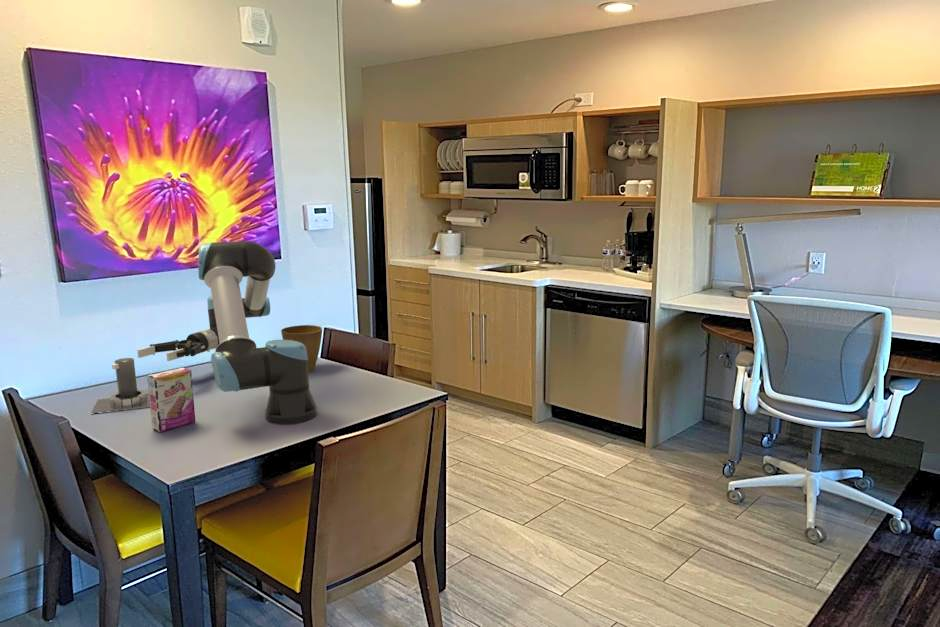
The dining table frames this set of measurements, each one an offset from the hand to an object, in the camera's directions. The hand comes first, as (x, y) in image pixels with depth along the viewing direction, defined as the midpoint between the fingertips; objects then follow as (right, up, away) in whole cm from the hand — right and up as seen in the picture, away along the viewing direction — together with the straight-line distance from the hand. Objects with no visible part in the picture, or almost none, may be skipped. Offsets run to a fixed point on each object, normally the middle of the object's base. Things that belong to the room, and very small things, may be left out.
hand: (152, 355), depth 228 cm
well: (-5, -15, -6) cm, 17 cm away
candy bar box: (+19, -19, -27) cm, 38 cm away
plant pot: (+44, -8, +29) cm, 53 cm away
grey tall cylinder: (-5, -15, -7) cm, 17 cm away
